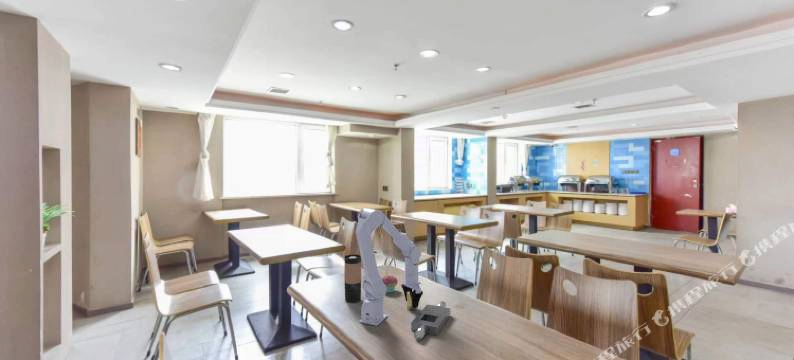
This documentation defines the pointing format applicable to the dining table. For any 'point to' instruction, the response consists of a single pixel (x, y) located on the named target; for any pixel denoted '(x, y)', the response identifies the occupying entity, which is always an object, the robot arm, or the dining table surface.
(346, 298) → the travel mug
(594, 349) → the dining table surface
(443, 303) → the junction block
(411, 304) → the cylinder
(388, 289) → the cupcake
